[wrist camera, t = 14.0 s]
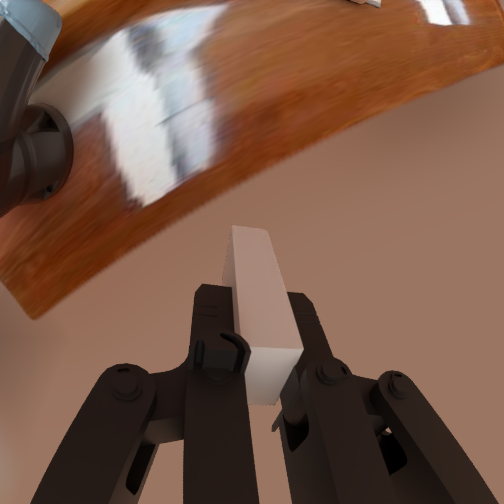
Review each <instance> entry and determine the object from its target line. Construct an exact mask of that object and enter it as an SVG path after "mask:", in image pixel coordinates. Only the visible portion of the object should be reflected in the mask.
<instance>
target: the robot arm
mask: <svg viewBox="0 0 504 504" xmlns="http://www.w3.org/2000/svg"><path fill="white" fill-rule="evenodd" d="M61 28H62V19H61V16H60V15H59V13H58V12H57V11H56V10H54V9H53V8H52V7H50V6H49V5H47V4H46V3H44V2H42V1H40V0H0V218H2V217H3V216H4V215H5V214H7V213H8V212H9V211H11V210H12V209H13V208H15V207H16V206H18V205H26V204H33V203H39V202H41V201H44V200H46V199H47V198H49V197H50V196H52V195H53V194H55V193H56V192H57V191H58V190H59V189H60V188H61V187H62V186H63V184H64V183H65V181H66V179H67V177H68V175H69V172H70V169H71V165H72V160H73V141H72V136H71V132H70V129H69V126H68V124H67V122H66V120H65V119H64V117H63V116H62V114H61V113H60V112H59V111H58V110H56V109H55V108H53V107H52V106H49V105H46V104H32V105H27V104H28V101H29V99H30V96H31V94H32V91H33V89H34V87H35V84H36V82H37V80H38V77H39V75H40V73H41V71H42V69H43V67H44V65H45V63H46V62H48V60H49V54H50V51H51V49H52V47H53V45H54V43H55V41H56V39H57V37H58V35H59V33H60V31H61ZM222 284H223V285H222V286H218V285H209V284H202V285H201V286H200V287H199V288H198V289H197V291H196V292H195V297H194V306H193V316H192V325H191V336H190V337H191V338H190V345H189V353H188V357H187V358H186V360H185V361H184V362H183V363H182V364H181V365H180V366H179V367H177V368H175V369H173V370H170V371H166V372H160V373H153V374H149V373H148V372H147V371H146V370H145V369H143V368H141V367H139V366H137V365H133V364H128V363H125V364H116V365H114V366H112V367H110V368H107V369H106V370H105V371H104V372H103V373H102V375H101V376H100V377H99V379H98V380H97V382H96V384H95V385H94V387H93V388H92V390H91V392H90V394H89V395H88V397H87V399H86V400H85V402H84V403H83V405H82V407H81V409H80V410H79V412H78V414H77V416H76V417H75V419H74V420H73V422H72V424H71V426H70V427H69V429H68V431H67V433H66V435H65V436H64V438H63V440H62V442H61V444H60V445H59V447H58V449H57V451H56V453H55V455H54V457H53V458H52V461H51V462H50V464H49V466H48V468H47V470H46V472H45V474H44V476H43V478H42V480H41V482H40V484H39V486H38V488H37V491H36V492H35V494H34V497H33V499H32V501H31V503H30V504H137V503H138V501H139V498H140V495H141V492H142V490H143V487H144V484H145V481H146V479H147V476H148V473H149V471H150V468H151V466H152V463H153V460H154V458H155V455H156V452H157V450H158V447H159V444H161V443H167V442H173V441H178V440H183V439H184V456H183V457H184V458H183V504H259V496H258V488H257V481H256V472H255V464H254V455H253V447H252V438H251V429H250V421H249V411H248V405H275V404H276V402H277V401H278V399H279V397H280V399H281V405H282V410H281V412H280V413H279V415H278V417H277V419H276V420H275V422H274V423H273V425H272V432H275V431H276V429H277V428H278V426H279V429H280V435H281V441H282V447H283V453H284V459H285V465H286V471H287V476H288V482H289V488H290V494H291V500H292V504H499V503H498V502H497V500H496V499H495V497H494V495H493V494H492V492H491V491H490V489H489V488H488V486H487V484H486V483H485V481H484V480H483V478H482V477H481V475H480V474H479V472H478V471H477V469H476V468H475V466H474V465H473V463H472V462H471V461H470V459H469V458H468V456H467V455H466V453H465V452H464V450H463V449H462V447H461V446H460V445H459V443H458V442H457V440H456V439H455V438H454V436H453V435H452V433H451V432H450V431H449V429H448V428H447V427H446V425H445V424H444V423H443V421H442V420H441V418H440V417H439V416H438V414H437V413H436V412H435V411H434V409H433V408H432V406H431V405H430V404H429V402H428V401H427V400H426V398H425V397H424V396H423V394H422V393H421V392H420V390H419V389H418V388H417V386H416V385H415V384H414V383H413V381H412V380H411V379H410V378H408V376H406V375H405V374H403V373H401V372H398V371H393V370H392V371H386V372H385V373H383V374H382V375H381V376H380V377H379V379H378V380H374V379H369V378H364V377H360V376H356V375H353V374H352V373H351V371H350V370H349V368H348V366H347V365H346V364H344V363H343V362H342V361H341V360H339V359H337V358H334V357H333V355H332V352H331V349H330V347H329V344H328V341H327V339H326V336H325V334H324V331H323V329H322V326H321V325H320V321H319V318H318V316H317V315H316V311H315V308H314V306H313V303H312V302H311V301H310V300H309V299H308V298H307V297H306V296H305V295H304V294H303V293H294V292H286V289H285V286H284V282H283V279H282V276H281V273H280V270H279V266H278V263H277V260H276V257H275V254H274V251H273V248H272V244H271V241H270V238H269V235H268V232H267V230H264V229H257V228H251V227H244V226H237V225H232V227H231V233H230V238H229V244H228V249H227V255H226V260H225V266H224V272H223V278H222ZM388 427H389V429H390V430H391V432H392V433H389V432H387V431H386V429H387V428H388Z"/></svg>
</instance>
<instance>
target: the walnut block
mask: <svg viewBox="0 0 504 504" xmlns="http://www.w3.org/2000/svg"><path fill="white" fill-rule="evenodd" d="M350 1H353V2H356V3H359V4H363V3H364V2H366V1H368V0H350Z"/></svg>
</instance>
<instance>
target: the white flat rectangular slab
mask: <svg viewBox="0 0 504 504" xmlns="http://www.w3.org/2000/svg"><path fill="white" fill-rule="evenodd" d="M365 3H367V4H370V5H372V6H375V7H377V8H380V4H381V3H380V0H368V1H366V2H365Z"/></svg>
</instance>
